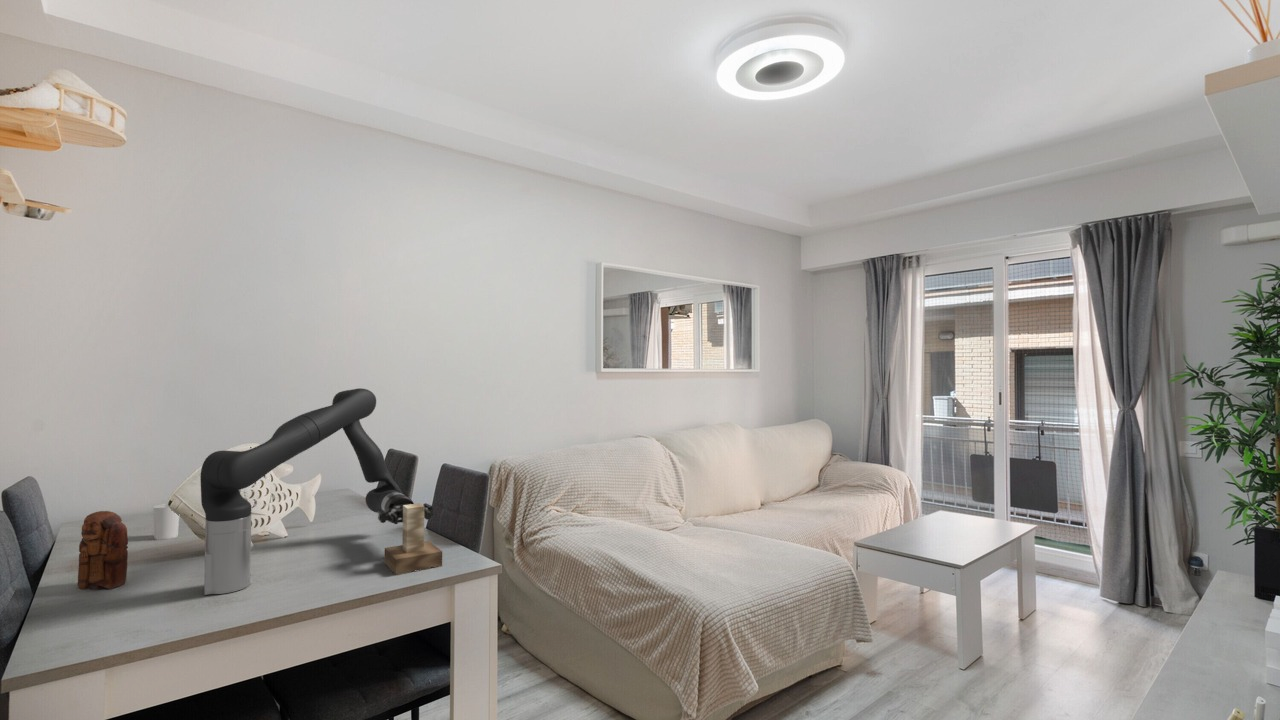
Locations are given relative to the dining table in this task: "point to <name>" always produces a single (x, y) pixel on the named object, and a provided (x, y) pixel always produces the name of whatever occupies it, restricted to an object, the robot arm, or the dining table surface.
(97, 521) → the wooden figurine
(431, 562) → the walnut plinth
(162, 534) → the drinking glass
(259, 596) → the dining table surface
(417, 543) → the birch pillar
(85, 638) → the dining table surface
